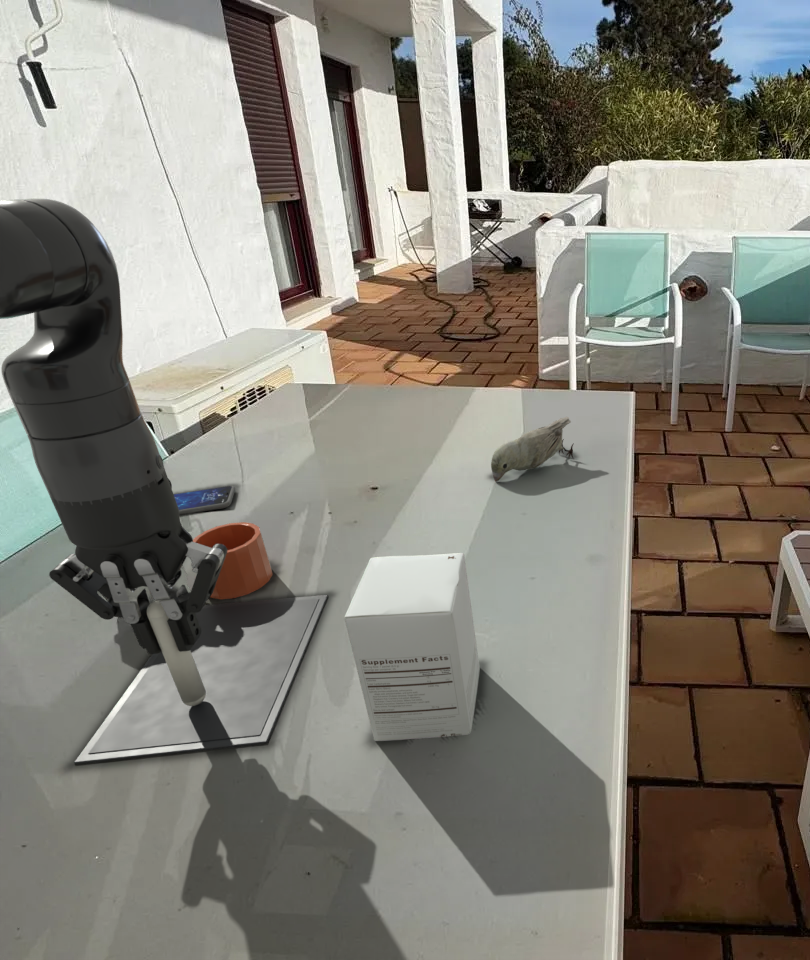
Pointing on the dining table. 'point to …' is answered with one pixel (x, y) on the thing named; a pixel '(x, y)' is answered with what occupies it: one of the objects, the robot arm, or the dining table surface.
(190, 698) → the off-white long cylinder
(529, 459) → the decorative bird
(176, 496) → the smartphone
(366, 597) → the rectangular carton
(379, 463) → the dining table surface
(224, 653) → the tablet
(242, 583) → the pen pot
